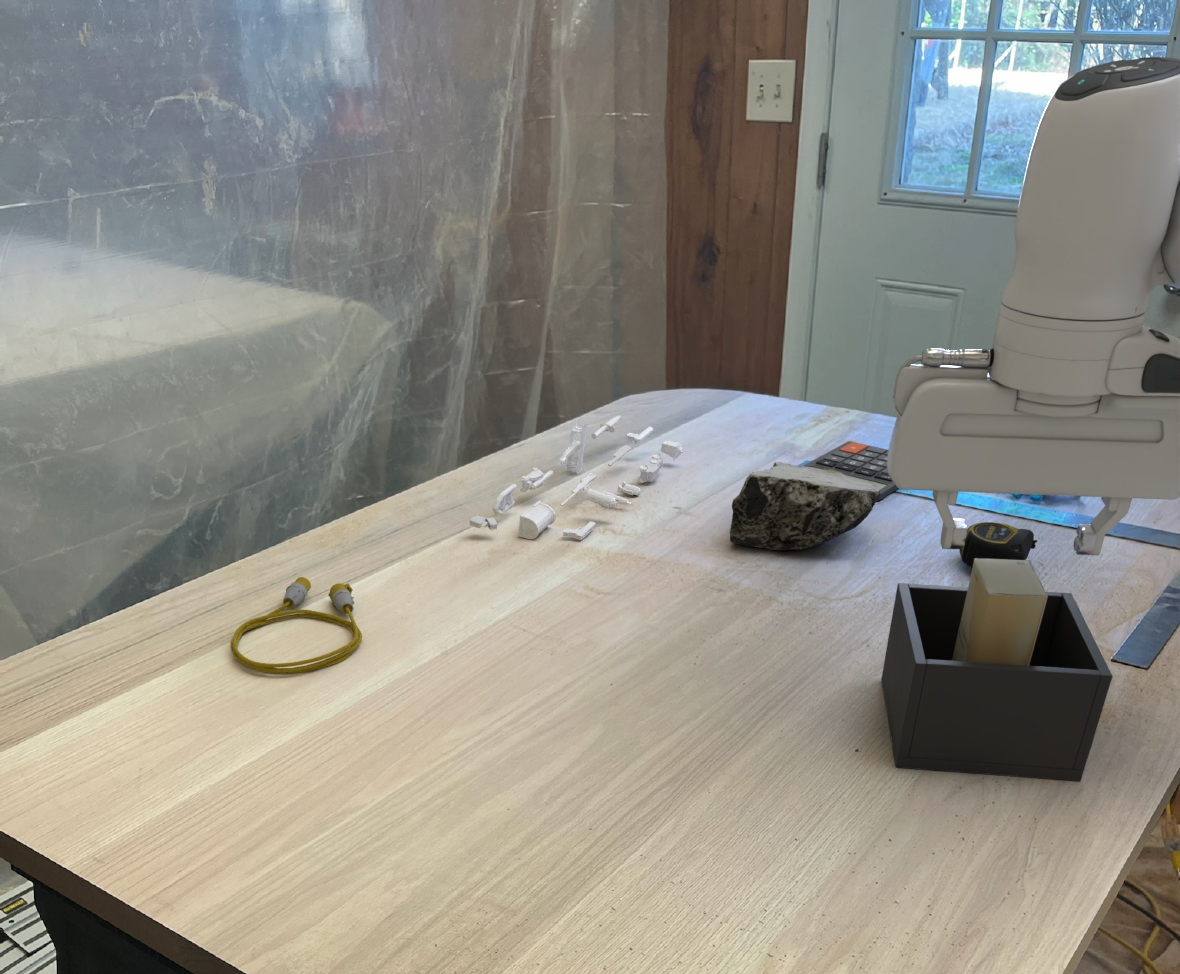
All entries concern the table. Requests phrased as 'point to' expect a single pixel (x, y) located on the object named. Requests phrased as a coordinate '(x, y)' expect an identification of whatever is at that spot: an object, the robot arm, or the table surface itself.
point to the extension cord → (291, 599)
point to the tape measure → (996, 542)
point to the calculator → (858, 464)
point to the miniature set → (545, 515)
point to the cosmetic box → (1000, 613)
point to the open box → (991, 692)
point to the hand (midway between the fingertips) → (1018, 549)
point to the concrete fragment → (798, 507)
